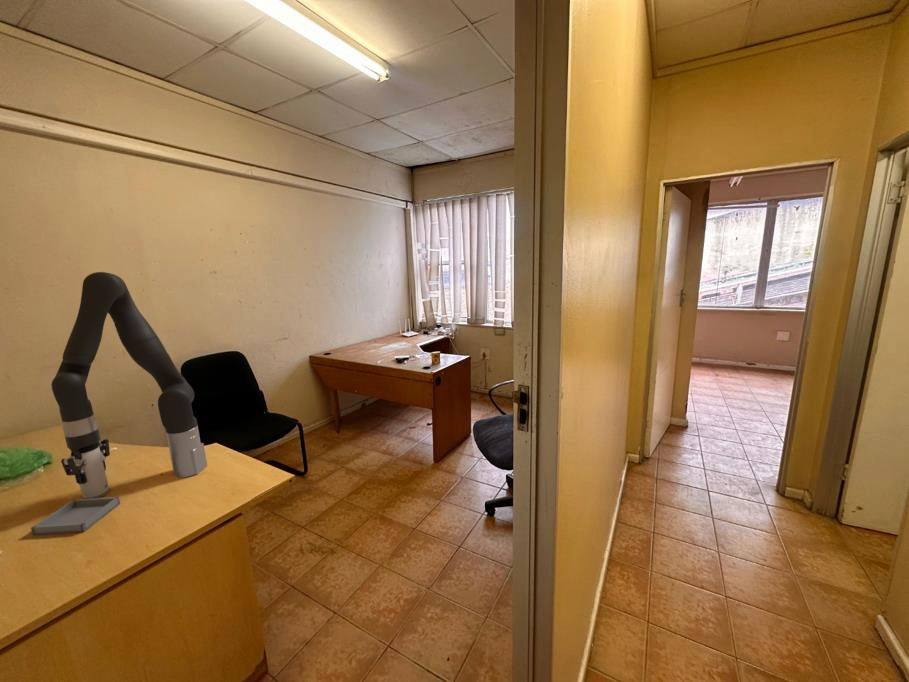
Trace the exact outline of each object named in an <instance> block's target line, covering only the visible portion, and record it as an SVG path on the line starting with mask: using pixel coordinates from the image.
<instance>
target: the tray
mask: <svg viewBox="0 0 909 682" xmlns="http://www.w3.org/2000/svg"><path fill="white" fill-rule="evenodd" d="M119 505H121V499H120V497H119V496H112V497H111V496H109V497H100V498H92V499H83V498H78V499H77V498H76V499H72V500H70V501H69V502H67V503H65V505H63V506H61V507H60V508H58V509H57V510H55V511H54V512H53V513H51V514H50V515H47V516H46V517H45V518H43V519H42V520H40V521H39V522H38V523H36V524H34V525H33V526H32V527H30V529H31V533H32V536H45V535H46V536H47V535H59V534H60V535H61V534H72V533H73V534H75V533H86V531H87V530H89V529H90V528H91V527H93V526H94V525H95V524H97V522H99V521H101V519H103V518H104V517H105V516H107V515H108V514H109V513H111V512H112V511H113V510H114V509H116V508H117V507H118V506H119Z"/></svg>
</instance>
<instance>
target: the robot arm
mask: <svg viewBox="0 0 909 682" xmlns="http://www.w3.org/2000/svg"><path fill="white" fill-rule="evenodd" d="M134 301H135V300H133V298H132V295H131V293H130V291H129V288H128V286H127V284H126V283H125V281H124V279H122V278H121V277H119V276H118V275H116V274H114V273H110V272H105V271H97V272H96V271H95V272H92V273H90V274H88V275H87V276H86V277H85V278H84V279H83V281H82V289H81V297H80V303H79V308H78V312H77V316H76V320H75V322H74V324H73V328H72V330H71V332H70V335H69V337H68V340H67V342H66V345H65V348H64V349H63V354H62V361H61V362H60V365H59V367H58V370H57V372H56V374H55V376H54V378H53V379H52V382H51V384H50V385H51V391H52V393H53V396H54V399H55V400H56V401H55V402H56V403H57V406H58V410H59V414H60V418H61V422H62V425H61V426H62V431H63V437H64V439H65V442H66V443H65V444H66V447H67V448H68V449H69V450H70V456H68V457H65V458H62V459H61V461H60V462H61V465H62V467H63V470H64V472H65V474H66V476H74V477H75V482H76V483H77V484H78V485H80V484H85V483H87V479H86V475H85V472H84V471H85V466H86V465H87V463H86V459H85V460H83V463H81V464H76V463H75V462H76V461H74V459H75V460H76V458H77V459H79V460H81V459H82V455H81V451H80V448H85V447H88V446H91V445H94V444H96V443H97V442H98V445H99V448H100V452H101V456H102V461H103V465H104V469H105V471H106V470H107V469H106V468H107V466H106V462H105V460H106V458H107V457H110V455H111V451H110V441H109V439H107V438H103V439H101V436H100V435H101V434H100V431H99V426H98V421H97V420H96V417H95V414H94V409H93V406H92V402H91V400H90V399H89V398H88V392H87V388H86V387H87V386H86V383H87V380H88V378H89V374H90V370H91V367H92V364H93V362H94V360H95V358H96V355H97V354H98V351H99V347H100V345H101V342H102V339H103V338H102V337H103V331H104V326H105V323H106V319H107V315H108V314H109V317H110V318H111V319H112V321H113V324H114V327H115V329H116V330H115V331H116V333H117V335H118V337H119V339H120V343H121V345H122V346H123V347H124V349H125V350H126V352H127V353H128V355H129V356H130V358H131V359H132V360H133V361H134V362H135V363H136V364H137V365H138V366H139V367H141V368H142V369H143V370H144V371H146V372H147V373H148V374H149V375H150V376H152V378H153V379H154V380H155V382H156V383H157V385H158V387H159V389H160V390H161V394H159V397H158V399H157V407H158V412H159V416H160V421H161V424H162V427H163V428H164V430H165V433H166V439H167V445H168V450H169V455H170V461H171V464H172V471H173V476H174V477H175V478H180V479H181V478H187V477H191V476H194V475H198V474H200V473H201V472H202V471H203V470H204V469H205V468H206V467H207V466H208V462H207V455H206V451H205V444H204V442H201V438H200V437H201V436H200V431H199V426H198V420H197V418H196V417H195V416H194V412H193V407H192V403H193V401H194V399H195V390H194V389H193V387H192V386H191V384H189V383H188V381H187V380H186V378H185V377H184V376H183V375H182V373H180V371H179V369H178V368H177V367H176V365H175V364H174V361H173V360H172V358H171V356H170V354H169V353H168V352H167V350H166V348H165V346H164V345H163V343H162V341H161V339H160V338H159V337H158V335H157V333H156V332H155V331H154V328H153V327H152V326H151V325H150V324H149V321H148V320H147V319H146V318H145V317H144V315H143V314H142V313H141V312H140V310H139V309H138V307H137V305H136V303H135V302H134ZM77 466H80V470H78V467H77Z"/></svg>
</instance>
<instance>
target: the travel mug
mask: <svg viewBox="0 0 909 682" xmlns="http://www.w3.org/2000/svg"><path fill="white" fill-rule="evenodd" d="M80 451H81V455H82V459H81V460H79V459H77V458H76V460H75V459H74V461H76V462H75V463H76V464H81V463H83V460H85V459H86V463H87V465H86V466H85V471H84V472H85V475H86V479H87V483H85V484H79V488H80V492H81V495H82V499H92V498H103V497H104V496H106V495H108V494H109V492H110V488H109V483H108V482H109V481H108V478H107V473H106V470H105V469H104V465H103V461H102V456H101V452H100V448H99V445H98V442H97V443H96V444H94V445H91V446H88V447H85V448H80ZM77 467H78V470H80V466H77Z"/></svg>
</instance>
